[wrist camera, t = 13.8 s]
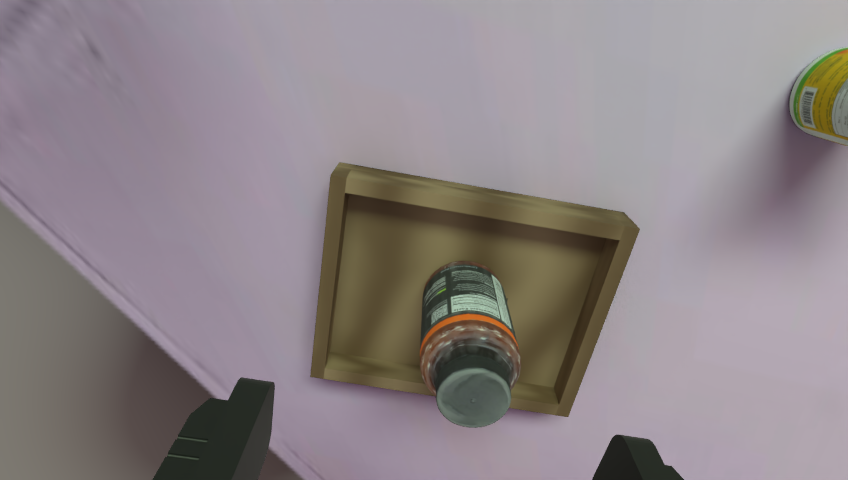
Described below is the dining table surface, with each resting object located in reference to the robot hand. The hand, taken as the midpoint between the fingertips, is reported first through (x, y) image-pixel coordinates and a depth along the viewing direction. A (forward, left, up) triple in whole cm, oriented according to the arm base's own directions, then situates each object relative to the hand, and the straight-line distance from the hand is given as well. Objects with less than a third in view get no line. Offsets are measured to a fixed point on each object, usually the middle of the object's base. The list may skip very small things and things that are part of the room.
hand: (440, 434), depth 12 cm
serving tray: (+3, -9, -24) cm, 26 cm away
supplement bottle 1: (+3, -9, -23) cm, 25 cm away
